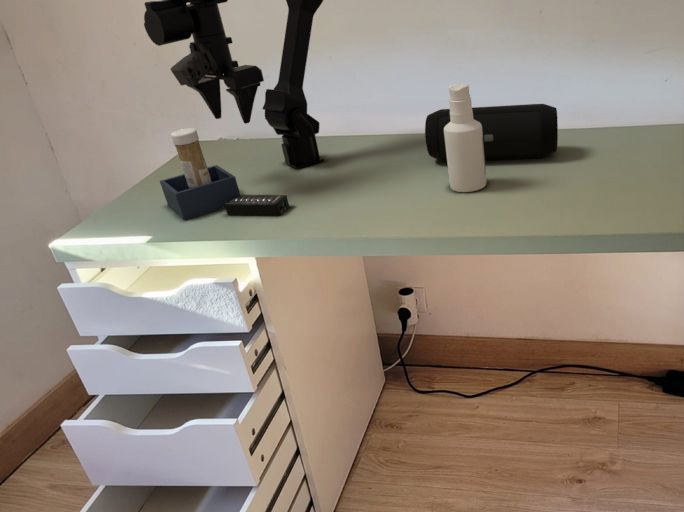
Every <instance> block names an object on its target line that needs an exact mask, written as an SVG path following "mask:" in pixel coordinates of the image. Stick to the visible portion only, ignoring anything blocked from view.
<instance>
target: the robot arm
mask: <svg viewBox="0 0 684 512" xmlns="http://www.w3.org/2000/svg"><path fill="white" fill-rule="evenodd" d="M285 1H286V6H287V8H288V11H287V18H286V26H285V32H284V39H283V46H282V52H281V53H282V54H281V60H280V67H279V73H278V74H279V75H278V81H277V83H276V85H275V87H273V89H271V88H266V89H265V92H264V93H265V94H264V105H263V106H262V110H263V111H264V119H265V120H266V122H267V124H268V125H269V126H270V127H271V128H273V131H274V132H275V134H276V135H277V136H281V139H282V143H281V150H282V153H283V157H284V163H285V164H287V165H288V166H290V167H292V168H294V169H302V168H305V167H308V166H313V165H315V164H318V163H321V162H324V158H323V157H321V155H320V152H319V147H318V142H317V138H316V135H317V134H319V133H320V121H318V120H317V119H315V118H314V117H313V116H311V115H310V114H309V113H308V102H307V97H306V95H305V92H304V81H305V75H306V68H307V61H308V55H309V48H310V42H311V35H312V34H311V33H312V28H313V21H314V16H315V14H316V12H317V11H318V9H319V8H320V7H321V5H322V4H323V2H324V0H285ZM224 3H228V0H151V1H145V2H144V7H145V12H144V13H143V14H144V15H143V20H144V21H143V22H144V23H143V26H144V29H145V32H146V34H147V37H149V40H150V41H151V42H152V43H153V44H154V45H156V46H158V47H161V46H164V45H168V44H173V43H177V42H181V41H185V40H189V39H190V38H191V37H192V39H193V41H192V42H189V45H188V48H189V51H190V53H189V54H187V55H185V56H184V57H182V58H181V59H180V60H178V62H176V63H174V64H173V65H172V66H171V67H170V71H171V73H172V75H173V76H174V77H175V79H176V81H178V83H179V86H182V87H183V86H187V88H190V89H193V90H194V91H196V92H197V93H198V94H199V95H200V96H201V98H202V99H203V101H204V102H205V104H206V106H207V107H208V109H209V110H210V112H211V114H212V115H213V117H214V118H215V120H220V119H222V95H221V81H223V83H224V85H225V86H226V87H227V88H226V89H225V91H226V92H227V93H229V94H230V95H231V96H232V97H233V98H234V101H235V103H236V106H237V109H238V111H239V115H240V118H241V119H242V122H243V123H244V124H250V122H251V118H252V113H253V107H254V103H255V99H256V95H257V92H258V87H261V83H263V82H264V81H265V79H264V75H263V70H262V69H261V68H260V67H259V66H257V65H254V64H253V65H252V64H243V65H240V66H239V62H238V60H233V57H232V54H231V50H230V46H229V45H232V44H233V38H232V37H231V36H227V35H226V31H225V28H224V23H223V20H222V16H221V12H220V7H219V5H220V4H224Z"/></svg>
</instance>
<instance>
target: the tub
mask: <svg viewBox="0 0 684 512" xmlns="http://www.w3.org/2000/svg"><path fill="white" fill-rule="evenodd" d="M207 169H208V172H209V175H210V178H211V183H208V184H204V185H201V186H197V187H194V188H189V186H188V183H187V180H186V177H185V174H184V173H183V174H179V175H176V176H172V177H169V178H166V179H162V180H159V183H160V186H161V189H162V192H163V196H164V199H165V201H166V204H167V206H168V207H169V208H170V209H171V210H172V211H173V212H175V213H176V215H178V216H179V217H180V218H181V219H182V220H183V221H186V220H189V219H192V218H195V217H196V218H197V217H199V216H202V215H206V214H208V213H211V212H215V211H218V210H221V209H224V208H225V205H224V203H225V202H227V201H228V200H229V199H231V198H232V197H233V196H235V195H241V191H240V189H239V185H238V181H237V178H236V176H234V175H233V174H232V173H230V172H229V171H227V170H225V169H224V168H222V167H221V166H219V165H218V164H215V165H212V166H207ZM225 209H226V208H225Z"/></svg>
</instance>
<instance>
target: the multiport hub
mask: <svg viewBox="0 0 684 512" xmlns="http://www.w3.org/2000/svg"><path fill="white" fill-rule="evenodd" d="M224 205H225V211H226V215H227V216H245V217H246V216H249V217H251V216H252V217H253V216H254V217H255V216H256V217H257V216H258V217H261V216H262V217H279V216H281V215H283V214H284V213H285V212H286V211H287V210H288V209H289V208H290V203H289V200H288V195H287V194H240V195H235V196H233V197H232V198H231V199H229V200H228V201H227V202H225V203H224Z"/></svg>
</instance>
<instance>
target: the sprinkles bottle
mask: <svg viewBox="0 0 684 512" xmlns="http://www.w3.org/2000/svg"><path fill="white" fill-rule="evenodd" d="M170 136H171V140H172V143H173V145H174V147H175V149H176V152H177V155H178V158H179V162H180V166H181V169H182V172H183V174H185V177H186V180H187V183H188V186H189V188H194V187H197V186H201V185H204V184H208V183H211V178H210V175H209V172H208V169H207V168H208V166H207V162H206V159H205V157H204V153H203V151H202V147H201V144H200V138H199V134H198V131H197V129H196V128H194V127H193V128H192V127H186V128H181V129H177V130H175V131H173V132H171V134H170Z"/></svg>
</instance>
